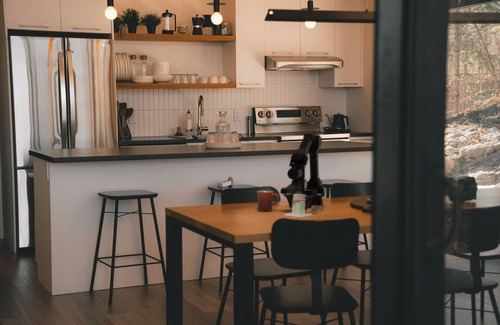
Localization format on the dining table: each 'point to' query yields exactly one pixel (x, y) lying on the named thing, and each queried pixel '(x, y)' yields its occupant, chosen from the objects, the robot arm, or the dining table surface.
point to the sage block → (298, 207)
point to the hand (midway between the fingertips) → (298, 209)
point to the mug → (266, 200)
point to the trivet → (298, 214)
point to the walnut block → (316, 208)
